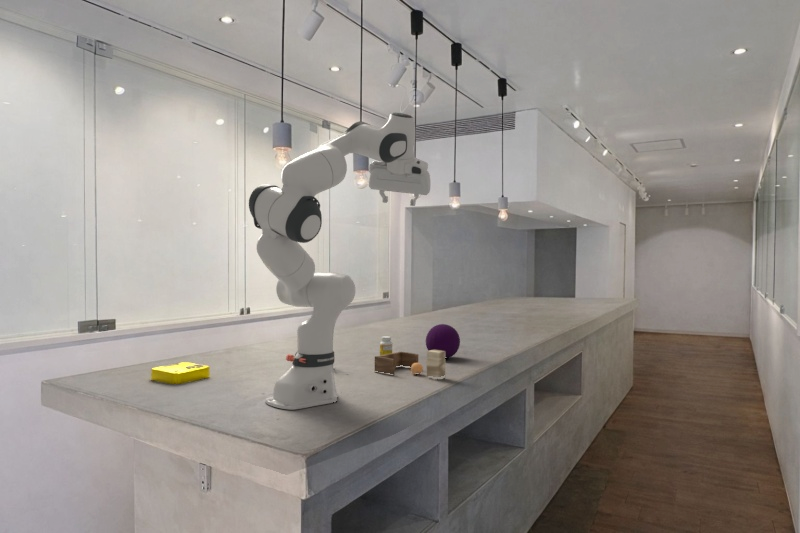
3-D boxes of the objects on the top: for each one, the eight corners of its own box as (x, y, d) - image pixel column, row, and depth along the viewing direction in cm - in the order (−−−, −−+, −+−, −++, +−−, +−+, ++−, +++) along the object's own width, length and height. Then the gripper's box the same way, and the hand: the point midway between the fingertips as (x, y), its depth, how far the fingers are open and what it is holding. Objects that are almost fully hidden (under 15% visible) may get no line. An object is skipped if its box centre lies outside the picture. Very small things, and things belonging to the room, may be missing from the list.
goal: (392, 375, 199) (392, 359, 199) (374, 372, 205) (374, 356, 205) (418, 369, 211) (418, 354, 210) (400, 366, 216) (400, 351, 216)
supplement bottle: (392, 360, 229) (392, 337, 229) (379, 360, 229) (379, 337, 229) (392, 358, 234) (392, 336, 234) (380, 357, 234) (380, 335, 234)
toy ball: (421, 360, 229) (421, 325, 229) (429, 354, 243) (430, 321, 243) (456, 362, 225) (456, 327, 224) (462, 356, 239) (463, 323, 239)
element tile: (185, 373, 202) (185, 360, 202) (212, 378, 194) (212, 364, 194) (148, 380, 189) (148, 367, 189) (175, 386, 181) (176, 372, 181)
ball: (417, 376, 198) (417, 364, 198) (408, 374, 201) (408, 362, 201) (425, 374, 201) (425, 362, 201) (415, 372, 204) (415, 361, 204)
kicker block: (437, 380, 192) (438, 352, 192) (426, 378, 195) (427, 351, 195) (445, 378, 195) (445, 351, 195) (434, 376, 199) (434, 349, 198)
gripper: (366, 163, 172) (366, 203, 178) (429, 170, 168) (427, 210, 175) (371, 157, 177) (371, 196, 184) (432, 163, 174) (430, 203, 181)
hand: (398, 203), depth 180 cm, fingers open, 8 cm apart
